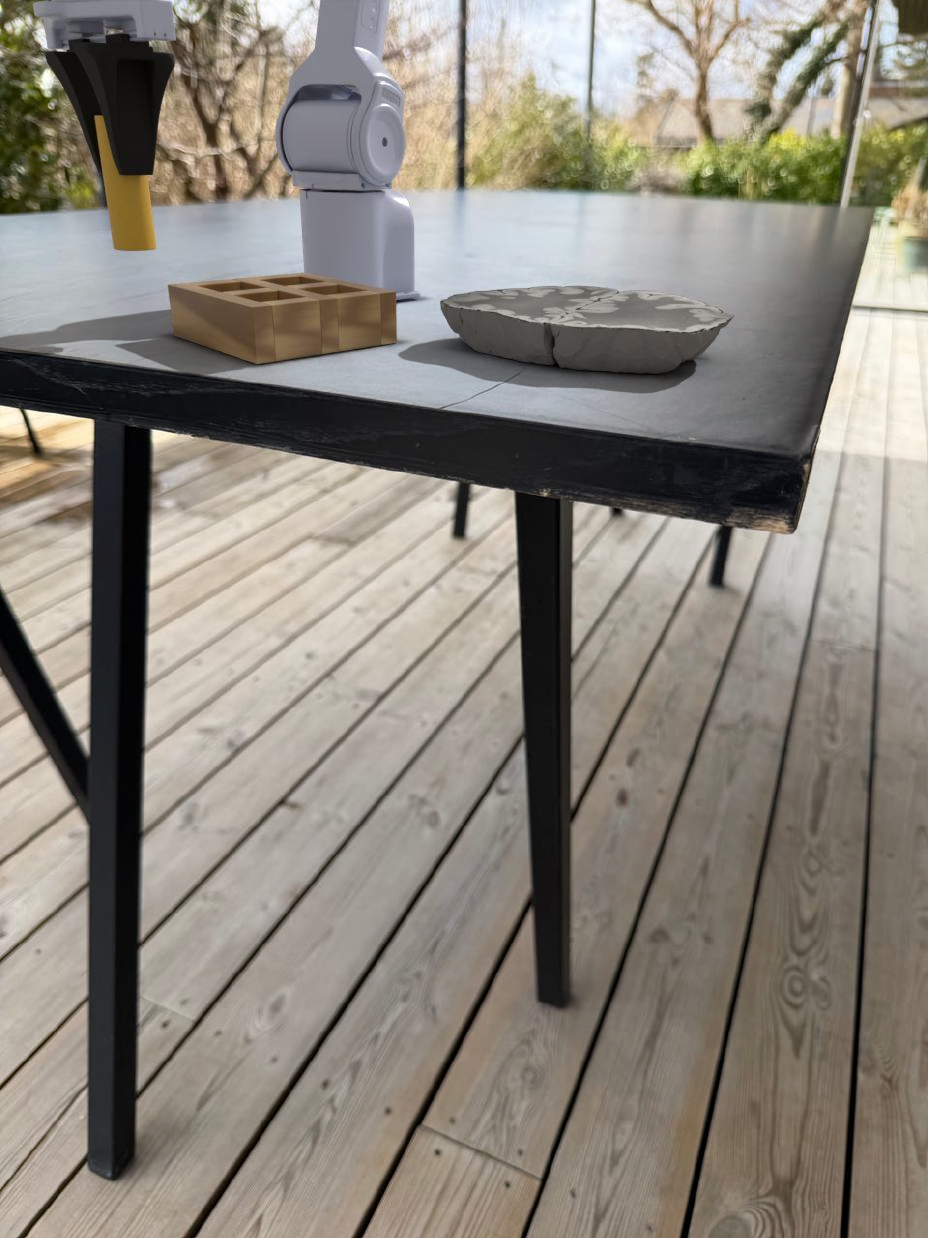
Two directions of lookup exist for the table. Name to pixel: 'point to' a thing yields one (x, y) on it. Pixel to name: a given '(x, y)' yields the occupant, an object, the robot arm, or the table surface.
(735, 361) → the table surface
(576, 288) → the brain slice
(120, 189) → the yellow peg
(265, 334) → the stand
